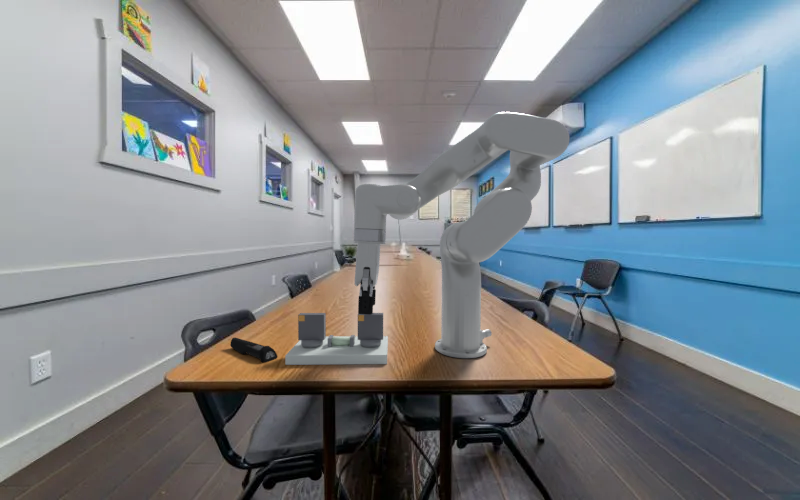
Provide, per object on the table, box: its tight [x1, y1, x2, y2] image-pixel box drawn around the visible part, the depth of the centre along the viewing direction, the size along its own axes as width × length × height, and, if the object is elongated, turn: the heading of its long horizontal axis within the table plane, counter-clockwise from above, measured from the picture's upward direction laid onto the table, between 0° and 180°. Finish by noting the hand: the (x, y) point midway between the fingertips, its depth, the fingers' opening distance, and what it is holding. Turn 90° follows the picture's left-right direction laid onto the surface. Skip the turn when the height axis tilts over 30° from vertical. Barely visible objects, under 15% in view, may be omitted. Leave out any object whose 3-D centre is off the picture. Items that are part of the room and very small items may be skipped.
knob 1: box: [297, 312, 327, 348], centre depth 71 cm, size 6×5×7 cm
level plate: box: [284, 334, 389, 366], centre depth 71 cm, size 22×13×4 cm, turn 92°
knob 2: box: [357, 312, 384, 347], centre depth 71 cm, size 6×5×7 cm
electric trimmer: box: [229, 337, 278, 363], centre depth 71 cm, size 4×16×3 cm, turn 57°
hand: (367, 309), depth 71 cm, fingers open, 9 cm apart
